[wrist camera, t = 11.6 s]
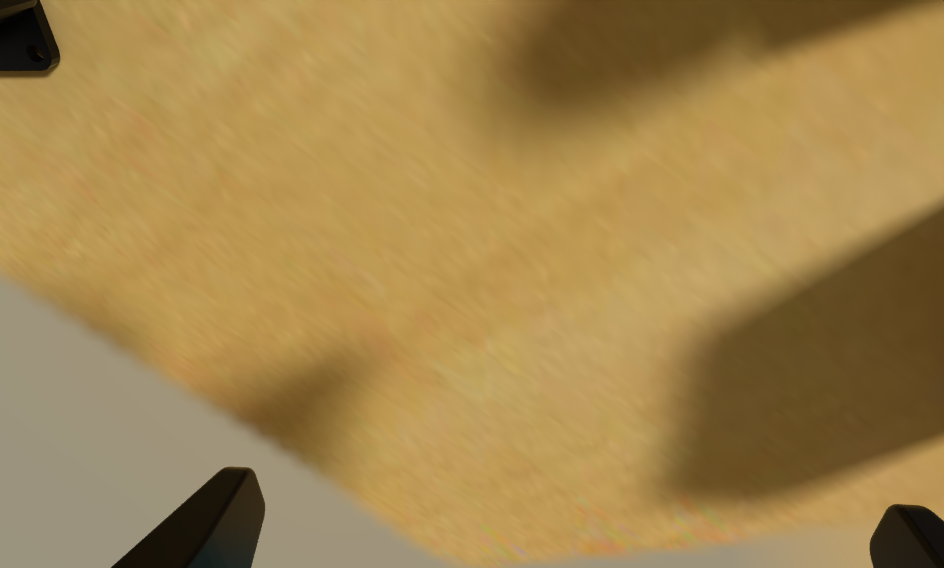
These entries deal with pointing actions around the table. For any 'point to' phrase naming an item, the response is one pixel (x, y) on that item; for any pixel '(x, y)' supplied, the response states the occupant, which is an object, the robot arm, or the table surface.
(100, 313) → the table surface
